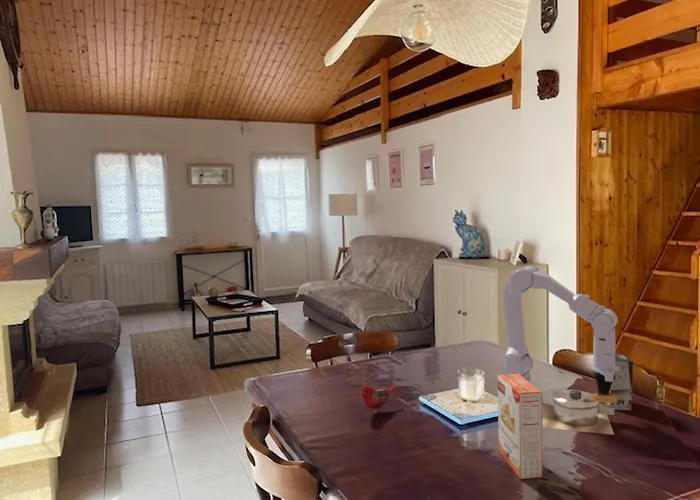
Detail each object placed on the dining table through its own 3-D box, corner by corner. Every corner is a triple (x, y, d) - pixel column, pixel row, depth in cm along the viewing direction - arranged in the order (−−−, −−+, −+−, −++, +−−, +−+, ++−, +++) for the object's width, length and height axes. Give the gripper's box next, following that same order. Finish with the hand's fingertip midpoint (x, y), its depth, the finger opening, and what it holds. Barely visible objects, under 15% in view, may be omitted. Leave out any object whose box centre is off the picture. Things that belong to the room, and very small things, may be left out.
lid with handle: (558, 408, 152) (558, 399, 151) (548, 392, 164) (548, 384, 164) (623, 409, 149) (623, 401, 149) (608, 394, 162) (608, 385, 161)
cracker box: (496, 453, 140) (496, 373, 138) (519, 451, 140) (519, 372, 138) (518, 480, 126) (518, 392, 124) (543, 478, 126) (543, 391, 125)
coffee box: (632, 414, 162) (633, 361, 161) (609, 413, 164) (610, 360, 162) (624, 403, 171) (624, 353, 170) (602, 402, 173) (602, 352, 171)
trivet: (543, 431, 152) (543, 427, 152) (541, 408, 169) (541, 404, 169) (614, 438, 146) (614, 434, 146) (605, 413, 163) (605, 410, 163)
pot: (554, 424, 154) (554, 407, 153) (552, 409, 165) (552, 393, 165) (616, 430, 149) (616, 412, 148) (610, 414, 160) (610, 397, 160)
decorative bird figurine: (357, 419, 164) (357, 386, 164) (394, 402, 177) (393, 372, 176) (365, 421, 162) (364, 388, 162) (401, 404, 175) (400, 374, 174)
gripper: (625, 359, 148) (624, 408, 149) (613, 345, 162) (612, 390, 163) (597, 358, 150) (597, 406, 151) (588, 345, 164) (587, 388, 165)
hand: (603, 397), depth 157 cm, fingers closed, pressing on lid with handle
